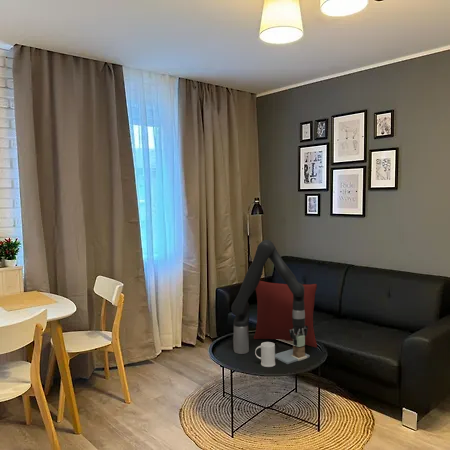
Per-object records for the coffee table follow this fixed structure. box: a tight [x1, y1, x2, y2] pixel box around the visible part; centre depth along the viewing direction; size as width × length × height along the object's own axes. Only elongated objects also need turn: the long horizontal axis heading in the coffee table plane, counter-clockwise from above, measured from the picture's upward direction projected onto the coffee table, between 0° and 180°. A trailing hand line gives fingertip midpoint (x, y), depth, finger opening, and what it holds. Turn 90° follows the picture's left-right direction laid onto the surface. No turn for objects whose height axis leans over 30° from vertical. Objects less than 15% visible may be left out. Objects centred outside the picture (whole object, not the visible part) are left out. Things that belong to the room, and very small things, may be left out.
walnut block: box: [292, 345, 306, 358], centre depth 264 cm, size 5×5×6 cm
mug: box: [254, 341, 276, 368], centre depth 256 cm, size 12×8×12 cm
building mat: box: [275, 348, 311, 365], centre depth 265 cm, size 14×18×1 cm
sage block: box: [292, 334, 306, 347], centre depth 263 cm, size 5×5×6 cm
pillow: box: [253, 280, 318, 349], centre depth 288 cm, size 44×15×42 cm, turn 65°
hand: (298, 344), depth 263 cm, fingers closed on sage block, 4 cm apart
